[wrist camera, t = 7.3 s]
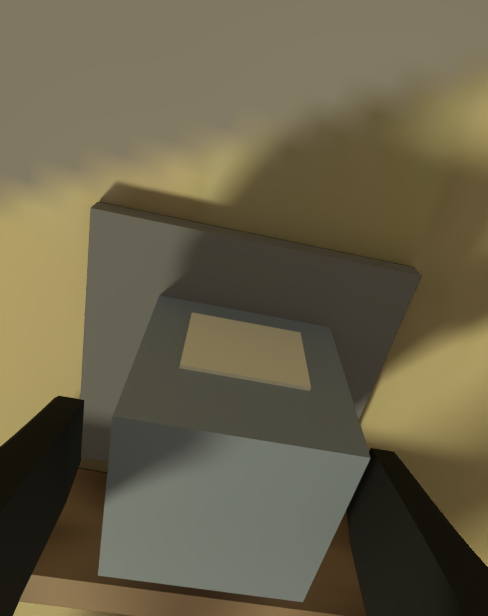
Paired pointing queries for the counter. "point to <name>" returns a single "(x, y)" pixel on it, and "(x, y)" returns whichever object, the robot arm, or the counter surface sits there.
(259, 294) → the mat
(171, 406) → the slate cube
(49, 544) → the walnut screen
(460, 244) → the counter surface
